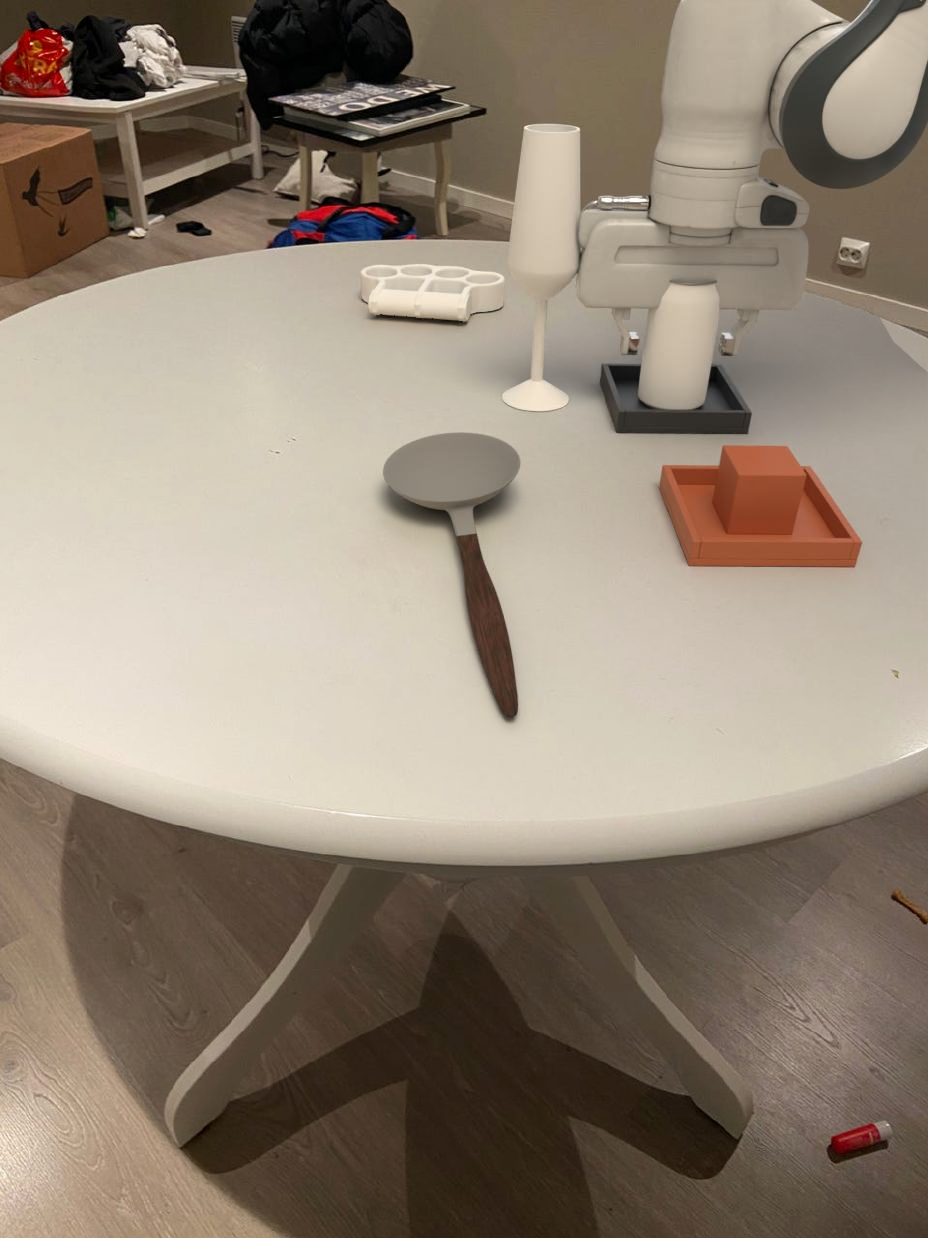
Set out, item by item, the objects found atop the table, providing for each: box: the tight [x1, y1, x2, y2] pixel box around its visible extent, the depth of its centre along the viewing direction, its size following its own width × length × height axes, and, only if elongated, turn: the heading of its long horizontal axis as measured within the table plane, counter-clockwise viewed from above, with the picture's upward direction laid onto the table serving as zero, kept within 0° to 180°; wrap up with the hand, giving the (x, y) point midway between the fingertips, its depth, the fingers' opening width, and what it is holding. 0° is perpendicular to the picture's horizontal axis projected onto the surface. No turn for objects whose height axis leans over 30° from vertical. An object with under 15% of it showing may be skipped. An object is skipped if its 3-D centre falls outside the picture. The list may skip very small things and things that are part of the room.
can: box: [638, 280, 721, 410], centre depth 89 cm, size 6×6×12 cm
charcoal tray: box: [599, 362, 753, 435], centre depth 92 cm, size 12×12×2 cm
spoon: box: [382, 431, 521, 718], centre depth 68 cm, size 11×33×3 cm, turn 8°
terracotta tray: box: [658, 464, 863, 568], centre depth 74 cm, size 12×12×2 cm
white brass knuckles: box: [359, 263, 506, 323], centre depth 117 cm, size 3×18×15 cm
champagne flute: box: [501, 123, 582, 412], centre depth 88 cm, size 7×7×24 cm
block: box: [712, 444, 807, 534], centre depth 73 cm, size 5×5×5 cm
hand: (678, 353), depth 90 cm, fingers open, 8 cm apart
